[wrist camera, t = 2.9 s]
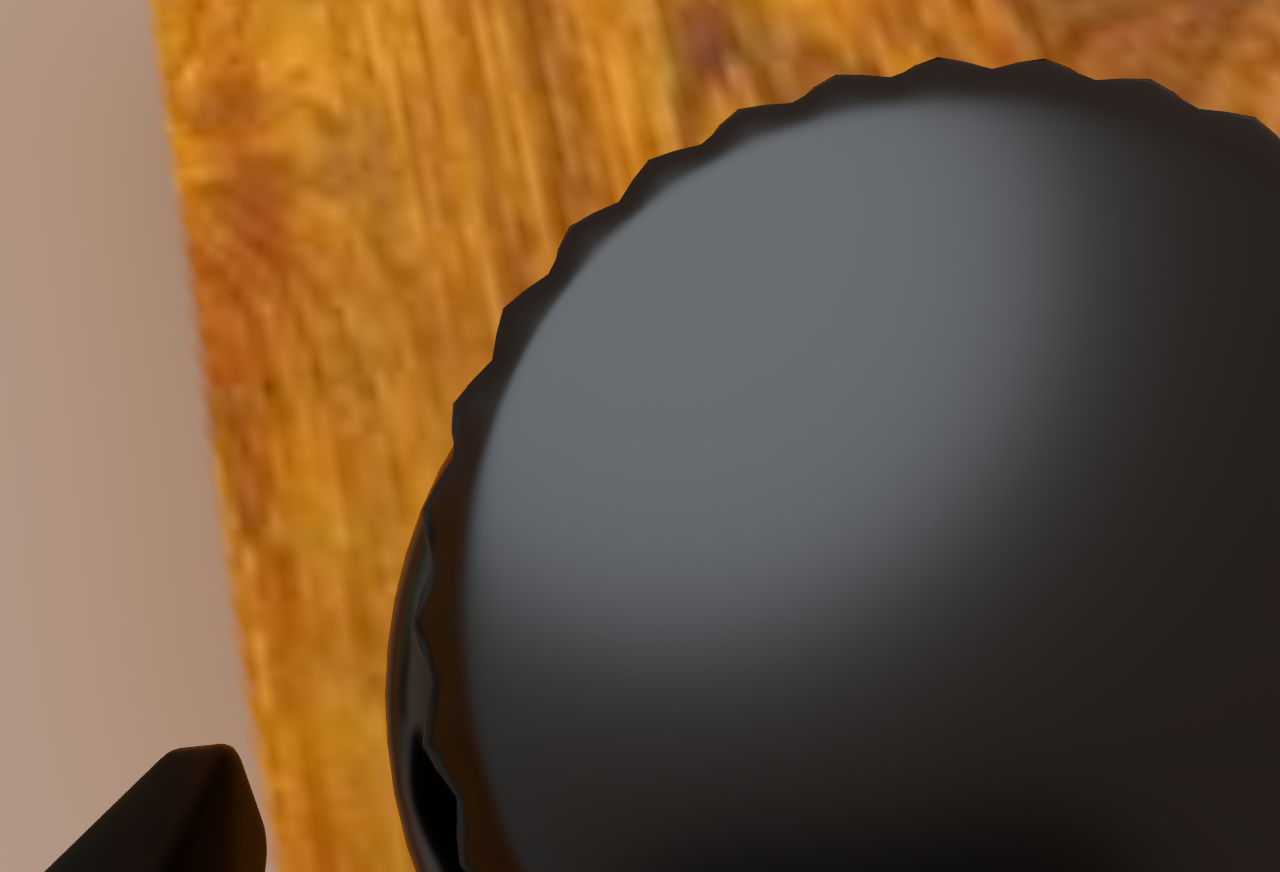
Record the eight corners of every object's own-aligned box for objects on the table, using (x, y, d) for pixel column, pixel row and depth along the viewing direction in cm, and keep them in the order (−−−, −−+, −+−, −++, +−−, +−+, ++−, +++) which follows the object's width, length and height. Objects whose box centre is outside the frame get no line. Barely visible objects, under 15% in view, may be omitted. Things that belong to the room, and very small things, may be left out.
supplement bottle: (954, 429, 17) (1553, -276, 6) (1098, 927, 15) (2450, 1444, 4) (486, 525, 17) (85, 4, 5) (576, 1043, 15) (265, 1975, 3)
